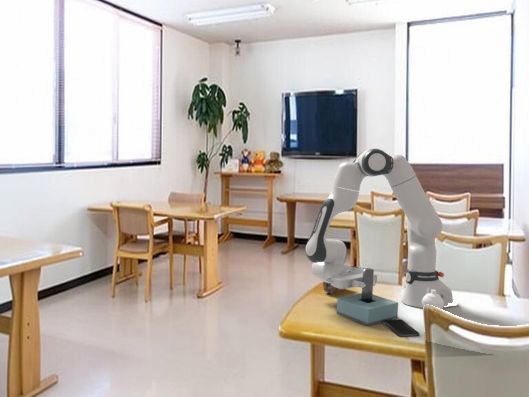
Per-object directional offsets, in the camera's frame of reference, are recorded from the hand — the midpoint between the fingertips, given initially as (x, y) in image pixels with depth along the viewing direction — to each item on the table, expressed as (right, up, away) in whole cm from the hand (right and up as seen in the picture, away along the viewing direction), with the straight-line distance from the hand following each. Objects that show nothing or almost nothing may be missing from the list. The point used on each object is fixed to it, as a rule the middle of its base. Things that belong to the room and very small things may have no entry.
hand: (369, 284), depth 188 cm
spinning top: (+22, -13, -3) cm, 26 cm away
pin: (-1, -9, +2) cm, 9 cm away
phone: (+8, -14, -11) cm, 20 cm away
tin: (-8, -9, +34) cm, 36 cm away
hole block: (-1, -12, +2) cm, 12 cm away
